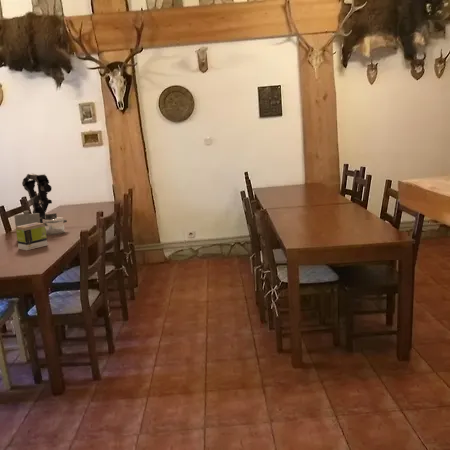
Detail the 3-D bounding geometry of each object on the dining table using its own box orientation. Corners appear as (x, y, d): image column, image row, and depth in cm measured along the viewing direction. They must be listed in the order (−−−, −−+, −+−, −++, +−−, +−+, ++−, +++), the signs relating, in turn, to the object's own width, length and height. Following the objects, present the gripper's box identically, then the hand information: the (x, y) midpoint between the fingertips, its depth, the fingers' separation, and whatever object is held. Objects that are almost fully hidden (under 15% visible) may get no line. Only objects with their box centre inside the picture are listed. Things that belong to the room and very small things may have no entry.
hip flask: (42, 238, 361) (38, 209, 358) (41, 239, 358) (38, 210, 354) (17, 240, 358) (14, 211, 354) (16, 241, 354) (13, 212, 350)
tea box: (39, 244, 343) (36, 221, 340) (48, 245, 336) (45, 223, 333) (18, 248, 331) (15, 225, 328) (26, 250, 325) (23, 227, 322)
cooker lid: (41, 220, 377) (40, 215, 376) (59, 217, 385) (59, 212, 384) (47, 222, 366) (47, 217, 365) (66, 220, 374) (66, 214, 373)
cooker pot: (39, 233, 377) (38, 221, 375) (63, 229, 387) (62, 217, 386) (46, 236, 367) (44, 223, 365) (70, 232, 377) (69, 219, 376)
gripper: (27, 191, 388) (29, 212, 391) (35, 193, 374) (38, 215, 377) (42, 190, 395) (44, 210, 398) (51, 192, 380) (53, 213, 383)
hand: (44, 212), depth 389 cm, fingers closed
